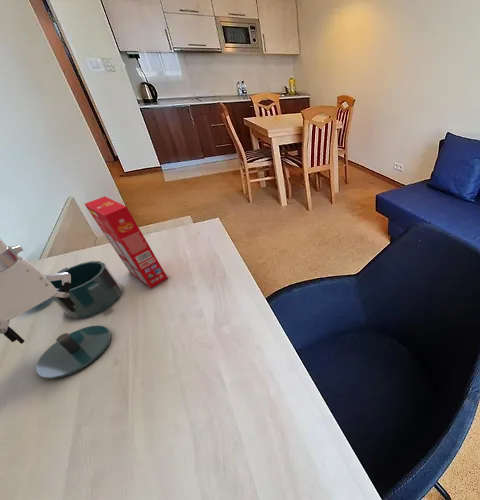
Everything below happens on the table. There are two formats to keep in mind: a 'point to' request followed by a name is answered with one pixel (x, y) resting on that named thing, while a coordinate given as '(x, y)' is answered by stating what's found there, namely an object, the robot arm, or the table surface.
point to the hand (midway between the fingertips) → (47, 324)
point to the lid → (73, 352)
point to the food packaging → (127, 240)
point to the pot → (89, 289)
